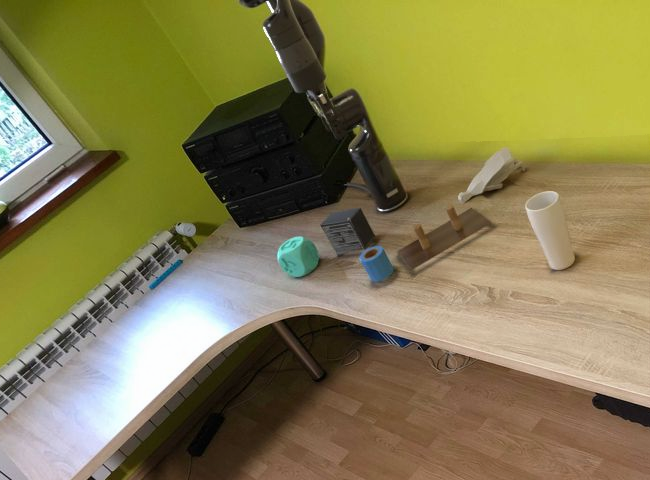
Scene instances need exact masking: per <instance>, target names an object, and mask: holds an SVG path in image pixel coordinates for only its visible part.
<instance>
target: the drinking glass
mask: <svg viewBox="0 0 650 480" xmlns="http://www.w3.org/2000/svg"><path fill="white" fill-rule="evenodd" d="M524 208H525V211H526V214H527V218H528V220H529V224H530V225H531V228H532V230H533V232H534V234H535V237H536V239H537V241H538V243H539V245H540V247H541V250H542V251H543V253H544V254H543V255H545V258H546V261H547V263H548V265H549V267H550V268H551V269H552V270H555V271H561V270H566V269H568V268H569V267H571V266H572V265H573V264H574V263H575V260H576V256H575V253H574V249H573V244H572V241H571V237H570V232H569V226H568V222H567V215H566V213H565V208H564V206H563V203H562V200H561V197H560V195H559V193H558V192H556V191H553V190H548V191H542V192H539V193H537V194H534V195H533V196H531V197H530V198H529V199H528V200H527V201H526V203H525V205H524Z"/></svg>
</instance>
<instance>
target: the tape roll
mask: <svg viewBox="0 0 650 480" xmlns="http://www.w3.org/2000/svg"><path fill="white" fill-rule="evenodd" d="M359 261H360V263H361V264H362V266H363V269H364V270H365V272H366V273H367V275H368V277H369V279H370V280H371V281H372V282H374V283H375V282H376V283H378V282H382V281H384V280H387V279H388V278H389V277H390V276H391V275H392V274H393V273H394V270H395V268H394V266H393V264H392V262H391V260H390V259H389V257H388V255H387V253H386V250H385V249H384V248H383V246H382V245H375V246H371V247H369V248H366V249H365V250H364V251H363V252H362V253H361V254H360V256H359Z"/></svg>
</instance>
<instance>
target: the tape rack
mask: <svg viewBox="0 0 650 480" xmlns="http://www.w3.org/2000/svg"><path fill="white" fill-rule="evenodd" d="M445 212H446V214H447V216H448V218H449V220H448V221H446V222H445V223H443V224H441V225H439V226H438V227H436V228H434V229H432V230H431V231H429V232H428V233H426V232H425V231H424V229H423V227H422V225H421V223H418V224H415V225H414V226H413V227H412V230H413V231H414V233H415V236H416V238H417V239H416V240H414V241H412V242H411V243H408V244H407V245H405V246H404V247H402V248H400V249H399V250H397V251H396V254H397V255H398V256H399V257H400V259H402V261H404V263H405V264H406V265H407V267H409V268H410V270H411V271H413V270H415V269H416V268H418V267H420V266H422V265H423V264H425V263H426V262H428V261H430V260H431V259H433V258H435V257H437V256H438V255H439V254H442V253H443V252H445V251H447V250H449V249H450V248H452V247H454V246H455V245H457V244H458V243H460V242H462V241H463V240H465V239H467V238H469V237H471V236H472V235H473V234H475V233H477V232H479V231H481V230H482V229H484V228H486V227H487V226H489V225H491V224H492V222H491V221H490V220H488V219H487V218H486V217H484V215H482V214H481V213H479V212H478V211H476V209H474V208H472V207H470V208H469V209H467V210H465V211H463V212H461V213H460V214H457V211H456V209H455V206H454V205H453V204H450V205H448V206H446V207H445Z"/></svg>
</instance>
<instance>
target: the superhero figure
mask: <svg viewBox="0 0 650 480" xmlns="http://www.w3.org/2000/svg"><path fill="white" fill-rule="evenodd" d="M512 165H513V166H512ZM519 168H521V170H522V171H523V172H526V167H525V164H524V163H523V161H519V162H518V159H517V157H514V158H513V156H512V154H511V150H510V148H509V147H503V148H501V149H498V150H497V151H496V152H495V153H493V155H492V156H490V157H489V158H488V159H487V160H486V161H485V163H484V164H483V167H482V169H481V170H480V171H479V172H478V173H476V175H475V176H474V177H473V178H472V180H471V181H470V184H469V185H468V187H467V189H466V191H463V192H460V193H458V198H457V199H458V201H459V202H460V203H461V204H465V203H467V202H468V201H469V200H470V199H471V198H472V197H476V196H477V195H480V194H482V193H484V192H490V191H494V190H497V189H503V183H502V182H504V180H506V179H508V177H509V175H510V174H511V173H514V172H515V171H516V170H517V169H519Z"/></svg>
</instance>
